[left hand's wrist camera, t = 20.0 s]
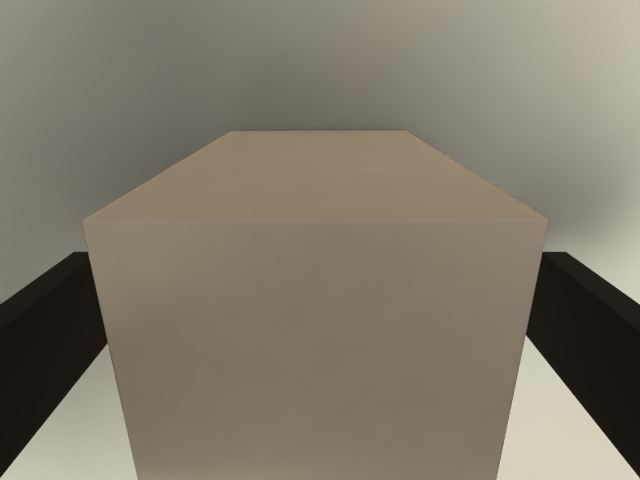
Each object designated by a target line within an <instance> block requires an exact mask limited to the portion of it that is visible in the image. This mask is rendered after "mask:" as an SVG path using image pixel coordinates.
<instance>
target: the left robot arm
mask: <svg viewBox="0 0 640 480" xmlns="http://www.w3.org/2000/svg"><path fill="white" fill-rule="evenodd" d="M526 336H527V337H528V338H529V339H530V341H531V342H532V343H533V344H534V346H535V347H536V348H537V349H538V351H539V352H540V353H541V354H542V356H543V357H544V358H545V359H546V361H547V362H548V363H549V364H550V366H551V367H552V368H553V369H554V371H555V372H556V373H557V375H558V376H559V377H560V378H561V380H562V381H563V382H564V383H565V385H566V386H567V387H568V388H569V390H570V391H571V392H572V393H573V395H574V396H575V397H576V398H577V400H578V401H579V402H580V403H581V405H582V406H583V407H584V408H585V410H586V411H587V412H588V413H589V415H590V416H591V417H592V418H593V420H594V421H595V422H596V423H597V425H598V426H599V427H600V429H601V430H602V431H603V432H604V434H605V435H606V436H607V437H608V439H609V440H610V441H611V442H612V444H613V445H614V446H615V447H616V449H617V450H618V451H619V452H620V454H621V455H622V456H623V457H624V459H625V460H626V461H627V462H628V464H629V465H630V466H631V467H632V469H633V470H634V471H635V472H636V474H637V475H638V476H639V477H640V304H638V303H637V302H635V301H634V300H633V299H631V298H630V297H628V296H627V295H626V294H624V293H623V292H621V291H620V290H619V289H617V288H616V287H614V286H613V285H612V284H610V283H609V282H607V281H606V280H605V279H603V278H602V277H600V276H599V275H598V274H596V273H595V272H593V271H592V270H591V269H589V268H588V267H586V266H585V265H584V264H582V263H581V262H579V261H578V260H577V259H575V258H574V257H572V256H571V255H570V254H568V253H567V252H542V256H541V261H540V266H539V271H538V276H537V281H536V286H535V291H534V296H533V301H532V306H531V311H530V315H529V320H528V325H527V330H526ZM107 343H108V341H107V336H106V332H105V327H104V323H103V318H102V314H101V309H100V304H99V300H98V295H97V291H96V286H95V282H94V277H93V273H92V268H91V263H90V259H89V254H88V252H73V253H72V254H70V255H69V256H68V257H66V258H65V259H63V260H62V261H61V262H59V263H58V264H56V265H55V266H54V267H52V268H51V269H49V270H48V271H47V272H45V273H44V274H42V275H41V276H40V277H38V278H37V279H35V280H34V281H33V282H31V283H30V284H28V285H27V286H26V287H24V288H23V289H21V290H20V291H19V292H17V293H16V294H14V295H13V296H12V297H10V298H9V299H7V300H6V301H5V302H3V303H2V304H0V478H1V476H2V475H3V474H4V472H5V471H6V470H7V469H8V467H9V466H10V465H11V464H12V462H13V461H14V460H15V459H16V457H17V456H18V455H19V454H20V452H21V451H22V450H23V449H24V447H25V446H26V445H27V444H28V442H29V441H30V440H31V439H32V437H33V436H34V435H35V434H36V432H37V431H38V430H39V429H40V427H41V426H42V425H43V423H44V422H45V421H46V420H47V418H48V417H49V416H50V415H51V413H52V412H53V411H54V410H55V408H56V407H57V406H58V405H59V403H60V402H61V401H62V400H63V398H64V397H65V396H66V395H67V393H68V392H69V391H70V390H71V388H72V387H73V386H74V385H75V383H76V382H77V381H78V380H79V378H80V377H81V376H82V375H83V373H84V372H85V371H86V369H87V368H88V367H89V366H90V364H91V363H92V362H93V361H94V359H95V358H96V357H97V356H98V354H99V353H100V352H101V351H102V349H103V348H104V347H105V346H106V344H107Z"/></svg>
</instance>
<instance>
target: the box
mask: <svg viewBox="0 0 640 480" xmlns="http://www.w3.org/2000/svg"><path fill="white" fill-rule="evenodd" d="M82 227H83V232H84V236H85V241H86V245H87V250H88V254H89V259H90V263H91V268H92V273H93V277H94V282H95V286H96V291H97V295H98V300H99V304H100V309H101V314H102V318H103V323H104V327H105V332H106V336H107V341H108V345H109V350H110V355H111V359H112V364H113V368H114V373H115V377H116V382H117V386H118V391H119V396H120V400H121V405H122V409H123V414H124V418H125V423H126V427H127V432H128V437H129V441H130V446H131V450H132V455H133V459H134V464H135V468H136V473H137V478H138V480H496V478H497V473H498V468H499V464H500V459H501V454H502V449H503V444H504V439H505V434H506V429H507V424H508V419H509V414H510V409H511V404H512V399H513V394H514V389H515V385H516V380H517V375H518V370H519V365H520V360H521V355H522V350H523V345H524V340H525V335H526V330H527V325H528V320H529V315H530V311H531V306H532V301H533V296H534V291H535V286H536V281H537V276H538V271H539V266H540V261H541V256H542V251H543V246H544V241H545V236H546V232H547V227H548V219H547V218H546V217H545V216H543V215H541V214H540V213H538V212H537V211H535V210H533V209H532V208H530V207H529V206H527V205H525V204H524V203H522V202H520V201H519V200H517V199H516V198H514V197H512V196H511V195H509V194H508V193H506V192H504V191H503V190H501V189H500V188H498V187H496V186H495V185H493V184H491V183H490V182H488V181H487V180H485V179H483V178H482V177H480V176H479V175H477V174H475V173H474V172H472V171H471V170H469V169H467V168H466V167H464V166H463V165H461V164H459V163H458V162H456V161H454V160H453V159H451V158H450V157H448V156H446V155H445V154H443V153H442V152H440V151H438V150H437V149H435V148H434V147H432V146H430V145H429V144H427V143H425V142H424V141H422V140H421V139H419V138H417V137H416V136H414V135H413V134H411V133H409V132H408V131H406V130H317V131H230V132H228V133H226V134H225V135H223V136H221V137H220V138H218V139H216V140H215V141H213V142H211V143H210V144H208V145H206V146H205V147H203V148H201V149H200V150H198V151H196V152H195V153H193V154H191V155H190V156H188V157H186V158H185V159H183V160H181V161H180V162H178V163H176V164H175V165H173V166H171V167H170V168H168V169H166V170H165V171H163V172H161V173H160V174H158V175H156V176H155V177H153V178H151V179H150V180H148V181H146V182H145V183H143V184H141V185H140V186H138V187H136V188H135V189H133V190H132V191H130V192H128V193H127V194H125V195H123V196H122V197H120V198H118V199H117V200H115V201H113V202H112V203H110V204H108V205H107V206H105V207H103V208H102V209H100V210H98V211H97V212H95V213H93V214H92V215H90V216H88V217H87V218H85V219H83V221H82Z"/></svg>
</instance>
